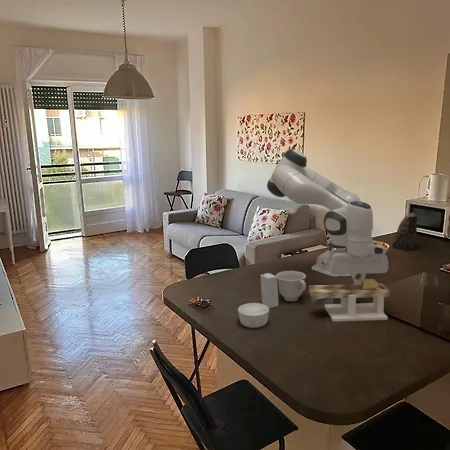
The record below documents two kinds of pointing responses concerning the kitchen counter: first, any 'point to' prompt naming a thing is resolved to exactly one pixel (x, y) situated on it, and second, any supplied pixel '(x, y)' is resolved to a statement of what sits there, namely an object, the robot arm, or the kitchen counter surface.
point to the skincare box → (269, 290)
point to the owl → (406, 233)
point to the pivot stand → (357, 310)
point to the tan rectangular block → (369, 284)
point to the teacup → (291, 284)
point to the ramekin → (253, 314)
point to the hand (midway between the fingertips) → (357, 284)
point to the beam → (343, 292)
